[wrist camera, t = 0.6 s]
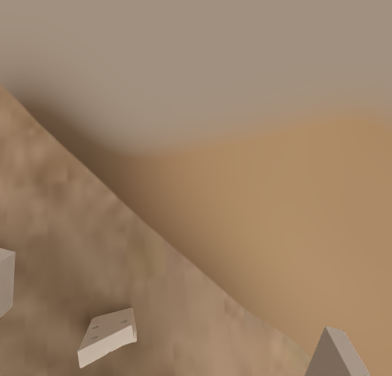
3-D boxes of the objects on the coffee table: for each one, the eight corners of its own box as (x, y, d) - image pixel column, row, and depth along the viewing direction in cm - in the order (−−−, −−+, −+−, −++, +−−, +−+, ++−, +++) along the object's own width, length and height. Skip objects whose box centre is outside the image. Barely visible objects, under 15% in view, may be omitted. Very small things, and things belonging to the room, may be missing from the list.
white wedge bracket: (55, 333, 36) (77, 351, 30) (123, 304, 43) (154, 313, 36) (59, 361, 36) (82, 385, 29) (127, 327, 42) (158, 341, 36)
